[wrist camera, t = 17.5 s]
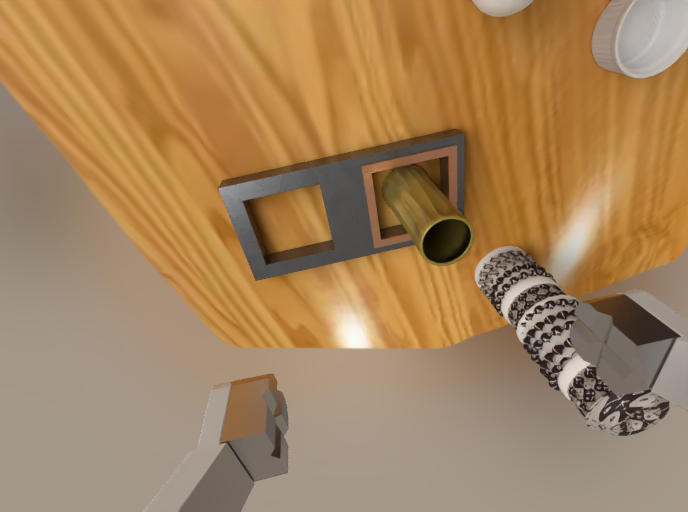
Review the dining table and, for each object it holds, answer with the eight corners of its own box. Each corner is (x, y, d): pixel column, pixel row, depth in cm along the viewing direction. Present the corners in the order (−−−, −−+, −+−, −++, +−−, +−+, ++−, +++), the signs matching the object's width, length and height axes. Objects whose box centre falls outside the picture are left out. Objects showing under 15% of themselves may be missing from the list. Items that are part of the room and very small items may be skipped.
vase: (394, 218, 46) (430, 280, 34) (373, 180, 43) (403, 234, 30) (436, 194, 45) (488, 249, 32) (417, 154, 42) (467, 198, 29)
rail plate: (222, 180, 40) (217, 189, 38) (455, 128, 40) (465, 134, 38) (257, 270, 47) (255, 282, 45) (456, 225, 48) (464, 234, 45)
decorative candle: (480, 242, 50) (620, 391, 29) (538, 242, 51) (713, 384, 30) (464, 293, 54) (574, 452, 33) (518, 292, 56) (656, 443, 35)
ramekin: (578, 12, 36) (610, 8, 32) (664, -45, 34) (709, -55, 31) (591, 91, 40) (621, 96, 37) (668, 44, 39) (707, 45, 35)
